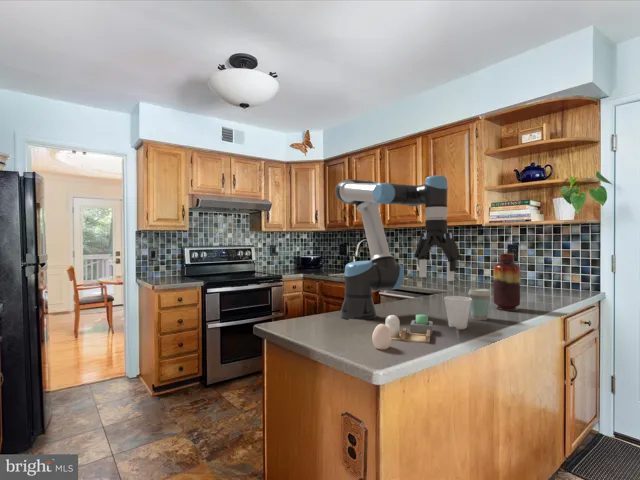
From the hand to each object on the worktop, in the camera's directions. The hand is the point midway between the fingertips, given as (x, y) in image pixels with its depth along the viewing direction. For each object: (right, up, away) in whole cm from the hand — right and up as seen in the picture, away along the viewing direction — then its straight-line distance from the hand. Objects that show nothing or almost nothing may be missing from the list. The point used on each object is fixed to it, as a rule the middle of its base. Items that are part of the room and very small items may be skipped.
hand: (435, 278), depth 127 cm
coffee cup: (+24, -19, +20) cm, 36 cm away
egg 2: (-18, -18, -11) cm, 27 cm away
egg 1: (-23, -19, -23) cm, 38 cm away
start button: (-7, -17, -5) cm, 19 cm away
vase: (+46, -19, +40) cm, 64 cm away
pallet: (-14, -19, -12) cm, 26 cm away
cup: (+10, -19, +5) cm, 22 cm away
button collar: (-7, -19, -5) cm, 20 cm away
